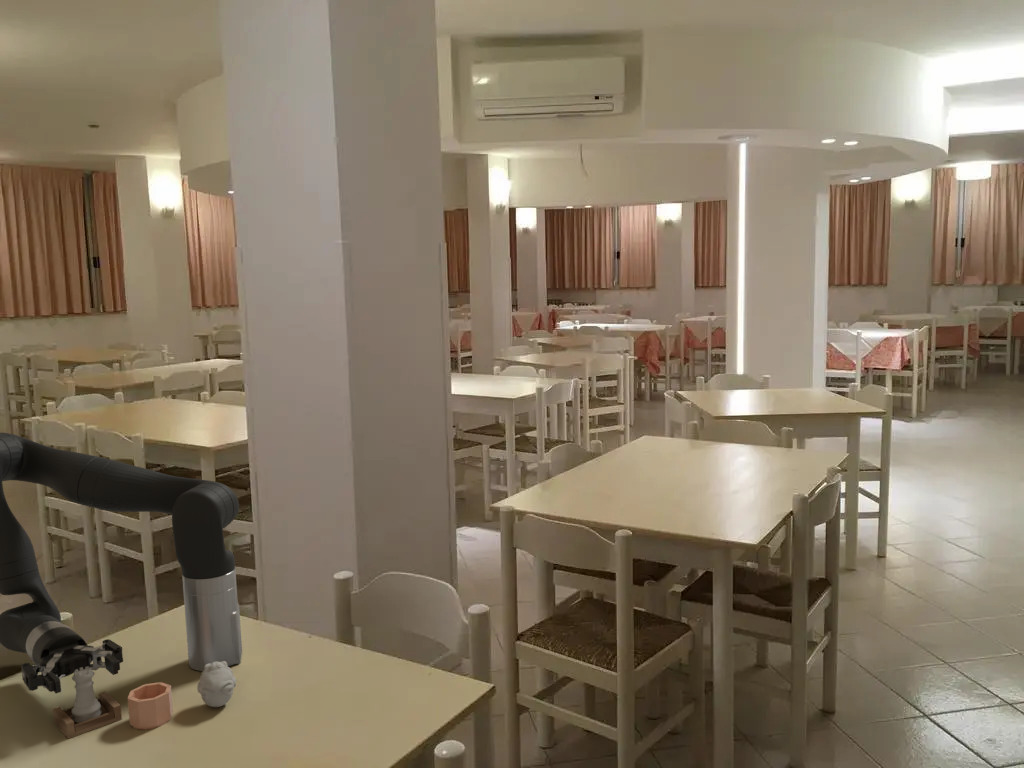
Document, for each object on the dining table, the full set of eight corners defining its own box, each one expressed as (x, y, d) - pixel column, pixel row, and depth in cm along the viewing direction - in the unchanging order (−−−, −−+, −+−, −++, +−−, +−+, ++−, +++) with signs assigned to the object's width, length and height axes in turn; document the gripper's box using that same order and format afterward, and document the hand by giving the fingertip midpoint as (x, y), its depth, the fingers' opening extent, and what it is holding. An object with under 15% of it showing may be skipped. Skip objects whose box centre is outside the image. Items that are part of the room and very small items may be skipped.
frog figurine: (237, 692, 145) (234, 653, 144) (237, 711, 138) (234, 670, 137) (199, 698, 143) (196, 659, 142) (198, 718, 136) (195, 676, 135)
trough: (54, 722, 136) (52, 708, 136) (106, 704, 141) (105, 691, 141) (68, 738, 131) (66, 724, 131) (121, 719, 136) (120, 705, 136)
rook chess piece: (108, 712, 138) (104, 665, 137) (86, 726, 133) (82, 678, 132) (87, 708, 139) (82, 662, 138) (65, 722, 135) (60, 674, 134)
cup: (174, 708, 140) (172, 680, 139) (169, 726, 134) (167, 697, 133) (135, 713, 138) (132, 685, 138) (127, 732, 132) (125, 703, 132)
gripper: (7, 640, 140) (36, 669, 129) (97, 615, 150) (132, 640, 138) (11, 683, 141) (40, 716, 129) (101, 655, 151) (135, 684, 139)
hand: (87, 677), depth 134 cm, fingers open, 8 cm apart
